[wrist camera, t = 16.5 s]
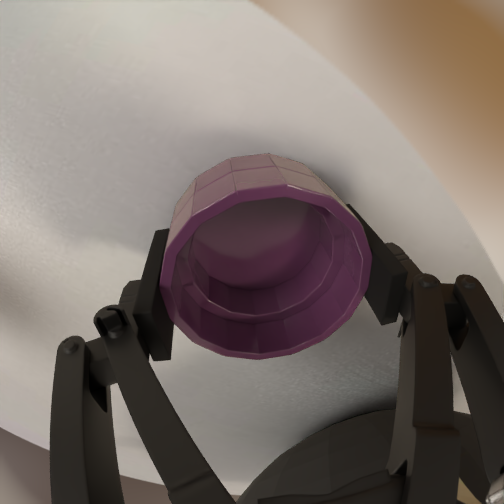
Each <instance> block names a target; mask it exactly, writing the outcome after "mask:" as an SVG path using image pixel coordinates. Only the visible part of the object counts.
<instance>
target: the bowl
mask: <svg viewBox="0 0 504 504" xmlns="http://www.w3.org/2000/svg"><path fill="white" fill-rule="evenodd" d="M395 413H396V409H391V410H381V411H376V412H372V413H368V414H364V415H360V416H356V417H354V418H351V419H348V420H345V421H343V422H340V423H337V424H334V425H332V426H330V427H328V428H326V429H323V430H321V431H319V432H317V433H315V434H313V435H311V436H310V437H308V438H306V439H305V440H303V441H302V442H300V443H299V444H297V445H295V446H294V447H292V448H291V449H289V450H288V451H286V452H285V453H283V454H281V455H280V456H279V457H278V458H277V459H276V460H275V461H274V462H272V463H271V464H270V465H269V466H268V467H267V468H266V469H265V470H264V471H263V472H262V473H261V474H260V475H259V476H258V477H257V478H256V479H255V480H254V481H253V482H252V483H251V484H250V486H249V487H248V488H247V489H246V490H245V491H244V493H243V494H242V495H241V496H240V497H239V499H238V500H237V502H236V503H237V504H258V501H257V499H261V498H268V497H275V496H282V495H288V494H308V495H324V494H329V493H331V492H333V491H335V490H337V489H339V488H341V487H343V486H345V485H346V484H348V483H350V482H352V481H354V480H356V479H357V478H360V477H364V476H367V475H370V474H373V473H376V472H379V471H382V470H385V468H386V465H387V463H388V460H389V456H390V450H391V444H392V437H393V429H394V422H395ZM453 413H454V428H455V429H458V430H459V431H460V434H461V454H460V472H459V485H458V494H457V499H458V500H459V501H461V502H464V503H466V504H487V503H486V502H485V497H486V494H487V493H488V492H489V488H490V485H491V484H490V482H489V480H488V478H487V475H486V472H485V469H484V465H483V462H482V458H481V453H480V449H479V444H478V440H477V436H476V432H475V428H474V424H473V421H472V417H471V415H470V414H465V413H461V412H456V411H453Z"/></svg>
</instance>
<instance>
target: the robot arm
mask: <svg viewBox="0 0 504 504" xmlns="http://www.w3.org/2000/svg"><path fill="white" fill-rule="evenodd" d="M346 206H347V207H348V208H349V210H350V211H351V212H352V213H353V214H354V215H355V216H356V218H357V219H358V220H359V221H360V222H361V224H362V226H363V229H364V232H365V235H366V238H367V241H368V243H369V246H370V249H371V252H372V265H371V272H370V279H369V286H368V289H367V291H366V293H365V295H364V296H365V298H366V299H367V301H368V303H369V305H370V306H371V308H372V310H373V311H374V313H375V315H376V317H377V318H378V320H379V322H380V324H381V325H385V324H389V323H393V322H396V321H397V317H398V313H400V314H401V316H402V317H403V320H402V324H401V327H400V331H399V334H398V337H400V336H401V346H400V367H399V381H398V393H397V404H396V413H395V422H394V429H393V437H392V444H391V450H390V456H389V460H388V463H387V465H386V468H385V470H382V471H379V472H376V473H373V474H370V475H367V476H364V477H360V478H357V479H356V480H354V481H352V482H350V483H348V484H346V485H345V486H343V487H341V488H339V489H337V490H335V491H333V492H331V493H329V494H324V495H308V494H288V495H282V496H275V497H268V498H261V499H257V501H258V504H466V503H464V502H461V501H459V500H458V499H457V494H458V485H459V472H460V454H461V434H460V431H459V430H458V429H455V428H454V413H453V381H452V366H451V355H452V357H453V360H454V363H455V366H456V369H457V372H458V375H459V378H460V381H461V384H462V387H463V390H464V393H465V396H466V400H467V403H468V406H469V410H470V413H471V417H472V421H473V424H474V428H475V432H476V436H477V440H478V444H479V449H480V453H481V458H482V462H483V465H484V469H485V472H486V475H487V478H488V480H489V482H490V484H491V485H490V488H489V492H488V493H487V494H486V497H485V502H486V503H487V504H504V322H503V320H502V319H501V317H500V315H499V313H498V311H497V310H496V308H495V306H494V305H493V303H492V301H491V299H490V298H489V296H488V294H487V293H486V291H485V290H484V288H483V286H482V285H481V283H480V282H479V281H478V280H477V279H476V278H474V277H473V276H470V275H464V274H463V275H459V276H458V277H457V278H456V281H455V284H442V283H440V281H439V280H438V279H437V278H436V277H435V276H433V275H430V274H426V273H422V272H421V271H420V270H419V268H418V267H417V266H416V265H415V264H414V263H413V261H412V260H411V259H409V257H408V256H407V255H406V254H405V252H404V251H403V250H402V249H401V248H400V247H399V246H397V245H395V244H393V243H384V242H383V241H382V240H381V239H380V238H379V237H378V235H377V234H376V233H375V232H374V231H373V230H372V229H371V227H370V226H369V225H368V224H367V223H366V222H365V221H364V220H363V218H362V217H361V216H360V215H359V214H358V213H357V212H356V211H355V210H354V209H353V208H352V206H351V205H350V204H347V205H346ZM169 231H170V229H163V230H157V231H155V234H154V238H153V241H152V244H151V247H150V251H149V254H148V257H147V261H146V264H145V268H144V271H143V275H142V278H141V280H135V281H129V282H128V284H127V285H126V286H125V287H124V288H123V291H122V294H121V298H120V301H119V304H118V305H109V306H106V307H104V308H102V309H100V310H99V311H98V312H97V313H96V315H95V317H94V324H95V326H96V328H97V330H98V332H99V334H100V336H101V337H99V338H97V339H94V340H91V341H88V342H85V341H84V339H83V338H82V337H80V336H71V337H69V338H66V339H65V340H64V341H62V343H61V344H60V345H59V347H58V350H57V356H56V364H55V372H54V382H53V392H52V405H51V422H50V481H51V498H52V504H125V503H124V498H123V493H122V487H121V482H120V475H119V469H118V462H117V454H116V447H115V438H114V429H113V418H112V406H111V391H110V385H112V384H115V383H118V385H119V388H120V390H121V393H122V395H123V398H124V400H125V403H126V405H127V408H128V410H129V412H130V415H131V417H132V419H133V421H134V424H135V426H136V428H137V430H138V433H139V435H140V437H141V439H142V441H143V443H144V445H145V447H146V449H147V451H148V453H149V455H150V457H151V459H152V461H153V463H154V465H155V467H156V469H157V471H158V473H159V475H160V476H161V478H162V480H163V482H164V484H165V486H166V488H167V490H168V496H169V499H170V501H171V503H172V504H237V503H236V502H235V501H234V499H233V498H232V497H231V495H230V494H229V493H228V491H227V490H226V488H225V487H224V486H223V484H222V483H221V482H220V480H219V479H218V477H217V476H216V474H215V473H214V471H213V470H212V469H211V467H210V466H209V464H208V463H207V461H206V460H205V458H204V457H203V455H202V454H201V452H200V451H199V449H198V447H197V446H196V444H195V443H194V441H193V440H192V438H191V436H190V435H189V433H188V431H187V430H186V428H185V427H184V425H183V423H182V422H181V420H180V418H179V416H178V415H177V413H176V411H175V410H174V408H173V406H172V404H171V403H170V401H169V399H168V397H167V395H166V394H165V392H164V390H163V388H162V386H161V384H160V383H159V381H158V379H157V377H156V375H155V373H154V371H153V369H152V367H151V365H150V363H149V355H151V357H152V359H153V361H164V360H171V350H172V339H173V328H174V323H173V322H172V321H171V319H170V318H169V315H168V312H167V310H166V307H165V304H164V301H163V298H162V295H161V292H160V289H159V283H160V277H161V271H162V265H163V259H164V253H165V248H166V244H167V239H168V235H169ZM450 352H451V354H450Z"/></svg>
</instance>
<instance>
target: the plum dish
mask: <svg viewBox="0 0 504 504" xmlns="http://www.w3.org/2000/svg"><path fill="white" fill-rule="evenodd" d="M371 265H372V252H371V249H370V246H369V243H368V241H367V238H366V235H365V232H364V229H363V226H362V224H361V222H360V221H359V220H358V219H357V218H356V216H355V215H354V214H353V213H352V212H351V211H350V210H349V208H348V207H347V206H346V205H345V204H344V203H343V202H342V201H341V199H340V198H339V197H338V196H337V195H336V194H335V193H334V192H333V191H332V190H331V188H330V187H329V186H328V185H327V184H326V183H325V182H324V181H322V180H321V179H320V178H319V177H318V176H317V175H316V174H314V173H313V172H312V171H311V170H310V169H309V168H307V167H306V166H305V165H304V164H302V163H300V162H297V161H293V160H290V159H286V158H283V157H280V156H276V155H272V154H269V153H268V154H258V155H249V156H241V157H234V158H230V159H227V160H225V161H223V162H222V163H220V164H218V165H216V166H215V167H213V168H211V169H209V170H208V171H206V172H204V173H202V174H201V175H199V176H198V177H197V178H195V180H194V181H193V182H192V184H191V185H190V186H189V188H188V189H187V190H186V192H185V193H184V194H183V196H182V197H181V198H180V200H179V201H178V202H177V204H176V206H175V210H174V214H173V218H172V222H171V226H170V231H169V235H168V239H167V244H166V248H165V253H164V259H163V265H162V271H161V277H160V283H159V289H160V292H161V295H162V298H163V301H164V304H165V307H166V310H167V312H168V315H169V318H170V319H171V321H172V322H173V323H174V324H175V325H176V326H177V327H178V328H179V329H180V330H181V331H182V332H183V333H184V334H185V335H186V336H187V337H188V338H189V339H190V340H191V341H192V342H194V343H195V344H197V345H200V346H202V347H204V348H206V349H209V350H211V351H213V352H215V353H218V354H220V355H222V356H227V357H235V358H244V359H254V360H258V359H259V360H261V359H268V358H274V357H280V356H286V355H292V354H295V353H297V352H299V351H301V350H304V349H306V348H308V347H310V346H312V345H315V344H317V343H319V342H321V341H323V340H324V339H326V338H327V337H329V336H330V335H331V334H332V333H333V332H335V331H336V330H337V329H338V328H339V327H340V326H342V325H343V324H344V323H345V322H346V321H347V320H348V319H350V317H351V316H352V315H353V313H354V311H355V310H356V308H357V306H358V305H359V303H360V301H361V300H362V298H363V296H364V295H365V293H366V291H367V289H368V286H369V279H370V272H371Z"/></svg>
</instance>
